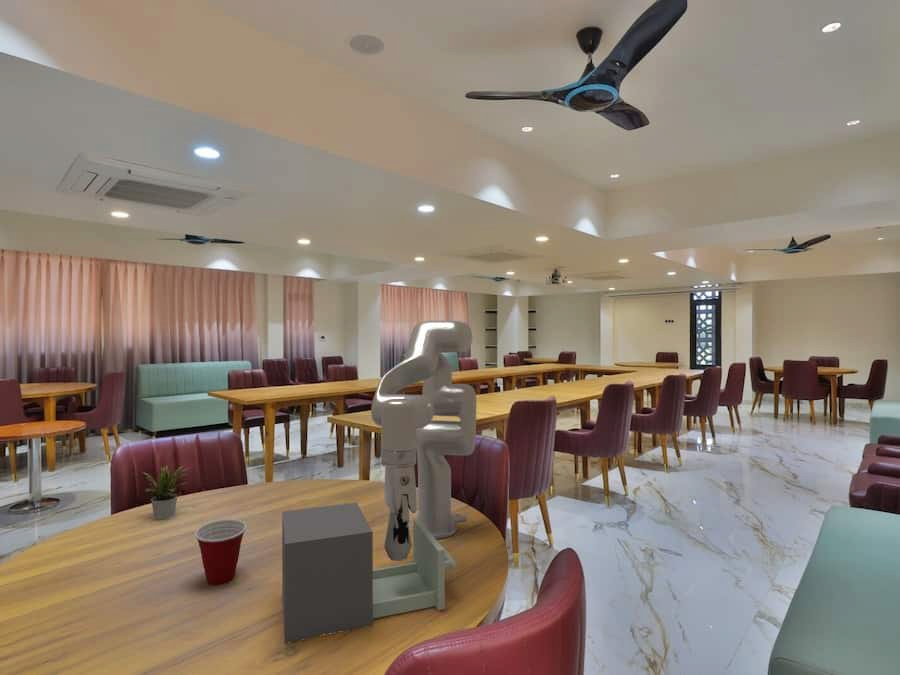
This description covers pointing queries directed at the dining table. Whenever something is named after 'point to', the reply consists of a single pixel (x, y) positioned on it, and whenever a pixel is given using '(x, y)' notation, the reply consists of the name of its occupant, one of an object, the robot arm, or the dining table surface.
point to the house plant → (164, 494)
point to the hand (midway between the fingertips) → (398, 541)
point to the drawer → (413, 578)
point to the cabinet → (326, 571)
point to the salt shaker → (395, 542)
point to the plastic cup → (220, 549)
